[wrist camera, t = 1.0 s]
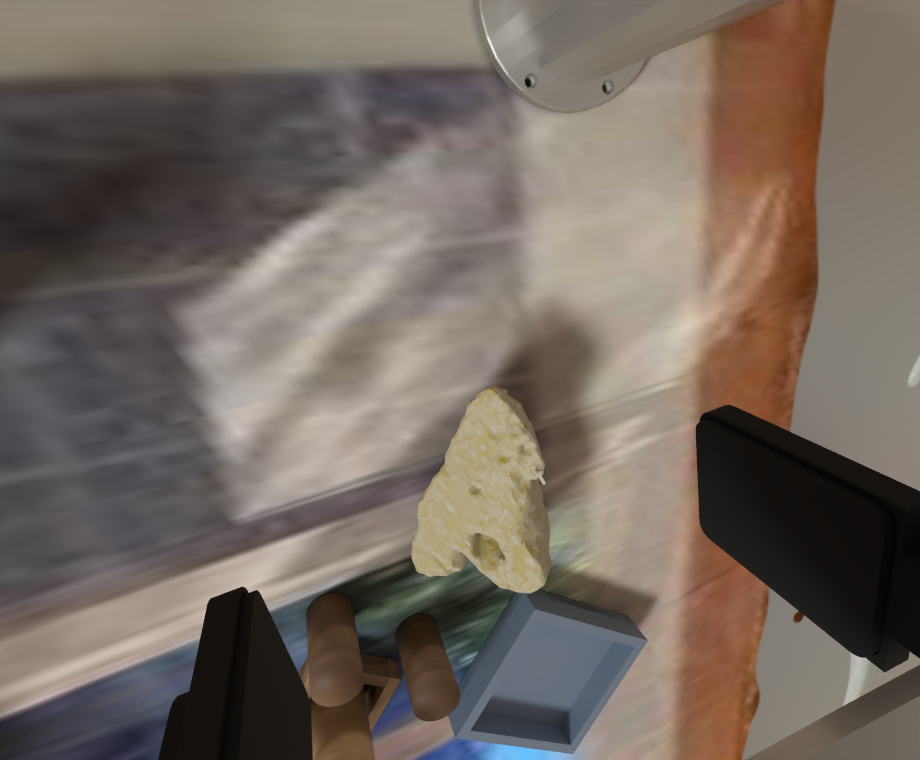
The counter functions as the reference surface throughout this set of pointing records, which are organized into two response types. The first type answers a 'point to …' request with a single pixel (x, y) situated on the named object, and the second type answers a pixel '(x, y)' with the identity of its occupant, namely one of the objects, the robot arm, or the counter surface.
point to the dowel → (342, 731)
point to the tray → (544, 673)
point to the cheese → (488, 500)
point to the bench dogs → (341, 665)
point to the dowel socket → (371, 683)
